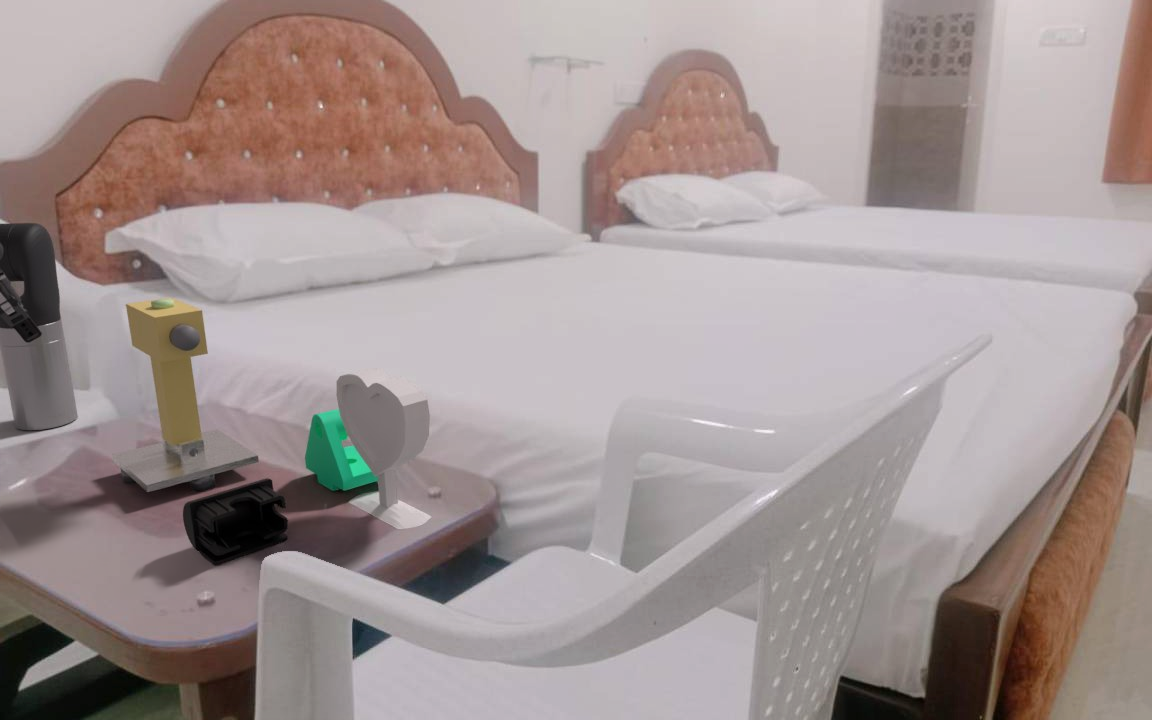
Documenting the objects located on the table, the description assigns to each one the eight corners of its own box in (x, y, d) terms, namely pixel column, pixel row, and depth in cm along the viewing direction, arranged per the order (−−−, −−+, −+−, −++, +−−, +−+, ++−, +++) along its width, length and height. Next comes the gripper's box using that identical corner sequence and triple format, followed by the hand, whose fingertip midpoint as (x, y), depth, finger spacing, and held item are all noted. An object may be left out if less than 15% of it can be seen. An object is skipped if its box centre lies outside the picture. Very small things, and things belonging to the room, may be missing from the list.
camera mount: (396, 482, 122) (389, 411, 120) (344, 498, 118) (336, 424, 115) (356, 461, 131) (349, 394, 129) (306, 475, 127) (298, 405, 124)
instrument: (141, 429, 130) (120, 296, 124) (183, 419, 134) (165, 289, 128) (180, 459, 118) (159, 313, 113) (225, 447, 122) (206, 306, 117)
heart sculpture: (340, 497, 119) (328, 368, 114) (372, 486, 123) (362, 360, 118) (407, 534, 109) (398, 393, 104) (441, 521, 112) (433, 384, 107)
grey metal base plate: (114, 474, 128) (108, 434, 126) (220, 447, 138) (215, 410, 136) (149, 506, 117) (142, 464, 116) (261, 475, 127) (256, 435, 125)
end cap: (266, 521, 113) (260, 471, 111) (293, 539, 108) (287, 488, 106) (186, 548, 106) (179, 495, 104) (211, 569, 101) (204, 514, 99)
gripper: (-97, 227, 108) (-9, 330, 120) (-70, 272, 100) (21, 377, 112) (-34, 197, 111) (45, 300, 123) (-4, 238, 103) (77, 344, 115)
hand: (33, 336), depth 118 cm, fingers closed
